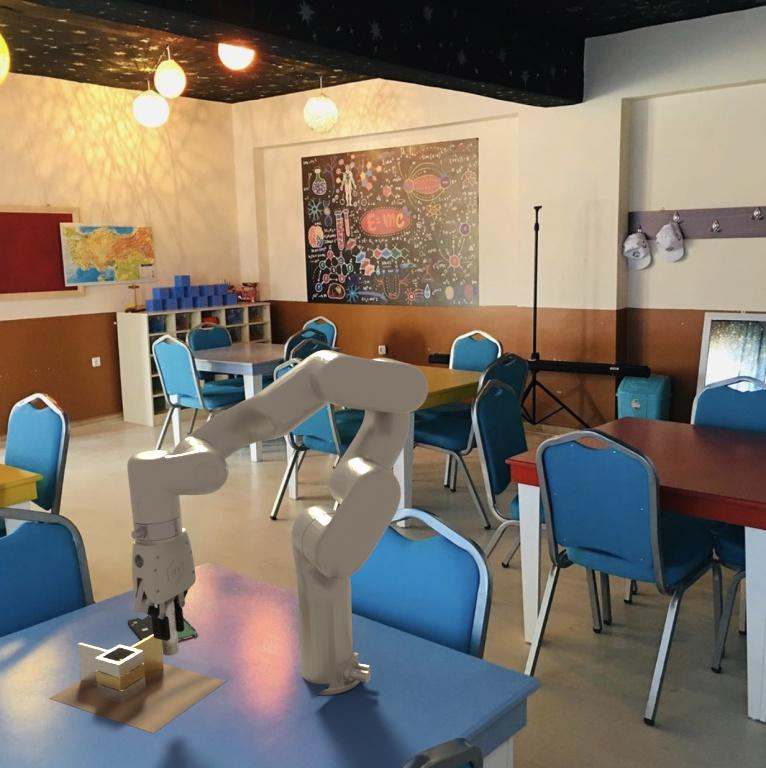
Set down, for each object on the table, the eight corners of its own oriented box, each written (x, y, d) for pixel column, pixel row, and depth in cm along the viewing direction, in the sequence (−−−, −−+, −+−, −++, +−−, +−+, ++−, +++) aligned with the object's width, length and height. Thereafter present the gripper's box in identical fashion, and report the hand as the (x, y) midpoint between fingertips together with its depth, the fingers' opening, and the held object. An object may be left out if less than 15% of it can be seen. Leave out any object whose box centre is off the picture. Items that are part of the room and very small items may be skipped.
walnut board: (227, 689, 147) (226, 681, 147) (154, 741, 131) (153, 733, 131) (127, 660, 158) (127, 653, 158) (49, 706, 143) (49, 698, 142)
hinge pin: (185, 649, 138) (179, 592, 136) (171, 657, 135) (165, 600, 133) (170, 645, 139) (164, 589, 138) (156, 654, 137) (150, 596, 135)
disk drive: (127, 633, 171) (149, 660, 159) (125, 620, 171) (148, 646, 159) (175, 620, 177) (201, 645, 165) (174, 607, 177) (200, 632, 164)
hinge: (173, 670, 151) (171, 634, 150) (121, 703, 140) (118, 665, 139) (123, 656, 157) (120, 621, 156) (69, 687, 146) (66, 649, 145)
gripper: (138, 547, 125) (150, 661, 128) (209, 514, 139) (218, 618, 142) (103, 541, 129) (115, 652, 132) (175, 510, 143) (185, 610, 146)
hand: (169, 633), depth 137 cm, fingers closed on hinge pin, 2 cm apart
